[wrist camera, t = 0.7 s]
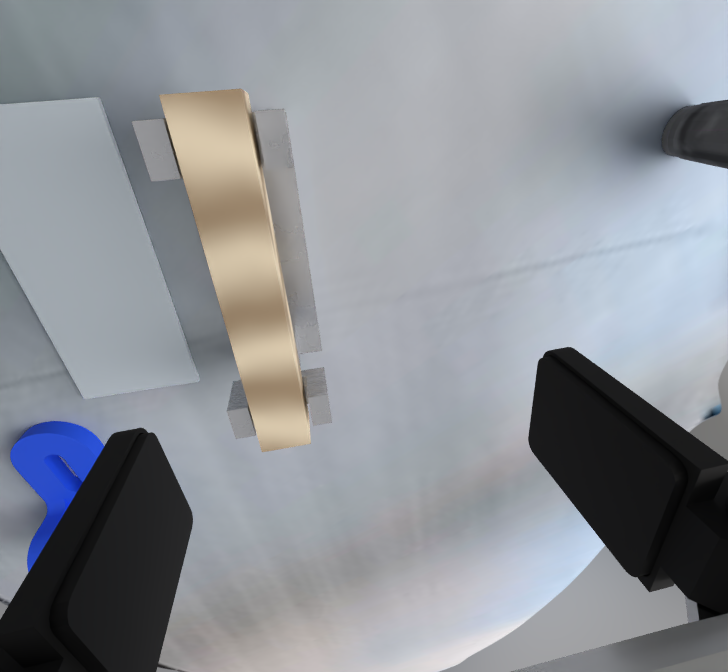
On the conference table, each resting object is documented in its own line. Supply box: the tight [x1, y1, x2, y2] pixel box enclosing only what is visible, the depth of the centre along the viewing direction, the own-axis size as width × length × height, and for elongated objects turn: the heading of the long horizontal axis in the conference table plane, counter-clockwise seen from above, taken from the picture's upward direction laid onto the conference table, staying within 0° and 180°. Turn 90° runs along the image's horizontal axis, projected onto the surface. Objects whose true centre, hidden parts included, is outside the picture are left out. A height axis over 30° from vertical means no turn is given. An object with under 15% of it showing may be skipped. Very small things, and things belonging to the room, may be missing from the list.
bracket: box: [10, 421, 104, 571], centre depth 44 cm, size 18×8×9 cm, turn 8°
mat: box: [0, 97, 200, 399], centre depth 36 cm, size 27×12×1 cm, turn 4°
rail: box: [159, 89, 311, 452], centre depth 27 cm, size 25×4×4 cm, turn 4°
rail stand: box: [132, 109, 332, 439], centre depth 32 cm, size 23×8×13 cm, turn 4°
